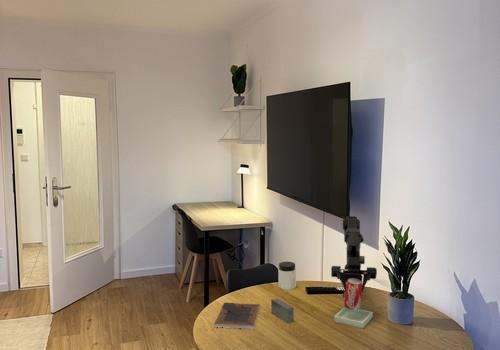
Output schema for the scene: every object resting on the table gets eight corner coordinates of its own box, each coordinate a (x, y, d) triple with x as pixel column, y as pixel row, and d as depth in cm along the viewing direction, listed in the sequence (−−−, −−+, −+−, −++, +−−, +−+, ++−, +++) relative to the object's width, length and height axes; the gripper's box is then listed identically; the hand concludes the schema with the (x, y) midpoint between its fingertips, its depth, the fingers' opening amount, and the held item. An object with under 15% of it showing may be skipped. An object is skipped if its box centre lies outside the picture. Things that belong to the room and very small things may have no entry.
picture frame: (224, 307, 210) (214, 329, 189) (224, 302, 209) (213, 323, 188) (260, 309, 207) (253, 331, 186) (260, 303, 207) (253, 325, 186)
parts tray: (345, 311, 202) (345, 306, 201) (372, 317, 195) (372, 312, 195) (334, 322, 192) (334, 316, 191) (362, 328, 185) (362, 323, 185)
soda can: (363, 311, 191) (366, 284, 189) (347, 312, 189) (350, 284, 187) (355, 303, 197) (358, 277, 195) (340, 304, 196) (343, 277, 194)
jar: (287, 291, 226) (287, 267, 224) (275, 287, 232) (275, 264, 230) (299, 286, 232) (299, 263, 231) (287, 282, 238) (286, 260, 236)
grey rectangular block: (277, 311, 203) (277, 298, 203) (294, 320, 193) (293, 307, 193) (271, 312, 202) (271, 299, 201) (287, 322, 192) (287, 309, 191)
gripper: (331, 247, 195) (331, 282, 186) (376, 249, 192) (378, 284, 182) (331, 259, 204) (331, 293, 195) (374, 261, 200) (376, 295, 191)
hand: (354, 291), depth 191 cm, fingers closed on soda can, 7 cm apart
